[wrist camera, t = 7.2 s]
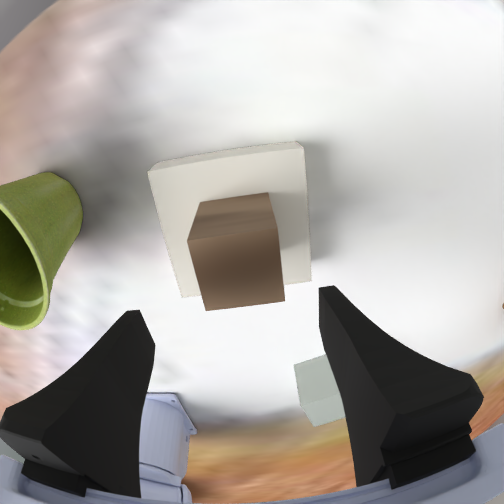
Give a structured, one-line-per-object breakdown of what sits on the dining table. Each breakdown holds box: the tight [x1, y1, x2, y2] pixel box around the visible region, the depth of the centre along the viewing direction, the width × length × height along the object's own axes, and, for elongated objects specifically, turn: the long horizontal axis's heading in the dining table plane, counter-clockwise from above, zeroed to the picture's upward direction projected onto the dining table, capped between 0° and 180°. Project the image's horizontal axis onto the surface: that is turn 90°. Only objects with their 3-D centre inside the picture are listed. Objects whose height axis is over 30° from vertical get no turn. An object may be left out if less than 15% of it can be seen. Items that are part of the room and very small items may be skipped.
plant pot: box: [0, 172, 83, 330], centre depth 16 cm, size 9×9×9 cm
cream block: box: [147, 141, 312, 297], centre depth 20 cm, size 9×9×3 cm
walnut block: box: [187, 192, 285, 311], centre depth 16 cm, size 4×4×5 cm
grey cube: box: [294, 354, 345, 427], centre depth 27 cm, size 5×5×5 cm
